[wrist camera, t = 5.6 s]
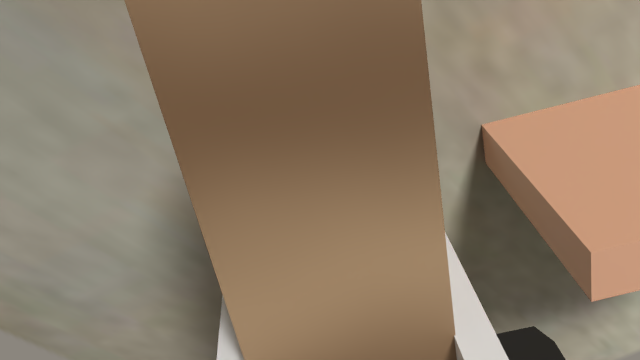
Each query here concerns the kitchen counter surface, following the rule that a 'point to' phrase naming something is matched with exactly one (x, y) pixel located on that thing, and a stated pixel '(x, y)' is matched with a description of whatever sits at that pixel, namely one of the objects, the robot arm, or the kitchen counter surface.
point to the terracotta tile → (578, 184)
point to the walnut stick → (309, 170)
